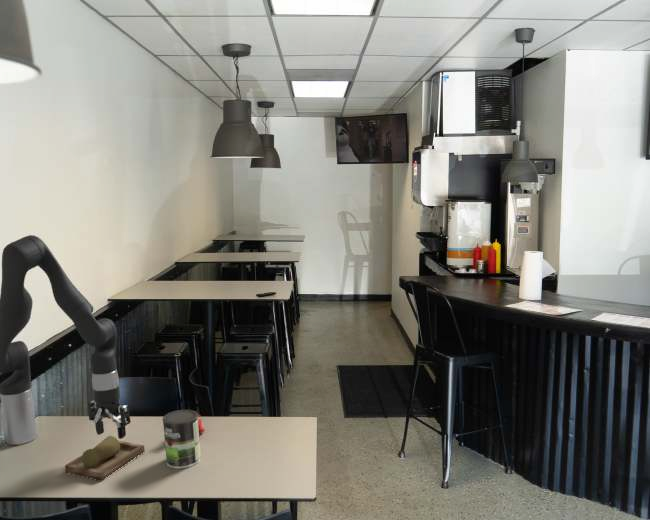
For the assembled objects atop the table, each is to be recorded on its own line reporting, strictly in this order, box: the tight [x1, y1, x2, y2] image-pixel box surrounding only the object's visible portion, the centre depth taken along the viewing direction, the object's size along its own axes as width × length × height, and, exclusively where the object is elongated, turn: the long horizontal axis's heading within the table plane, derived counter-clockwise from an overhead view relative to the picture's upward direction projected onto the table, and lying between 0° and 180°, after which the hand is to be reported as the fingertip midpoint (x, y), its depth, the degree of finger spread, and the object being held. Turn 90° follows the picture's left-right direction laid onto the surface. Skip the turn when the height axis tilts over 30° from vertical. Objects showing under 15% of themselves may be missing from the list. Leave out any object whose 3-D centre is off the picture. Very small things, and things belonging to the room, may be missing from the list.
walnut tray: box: [64, 440, 145, 482], centre depth 178 cm, size 14×18×2 cm
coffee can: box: [161, 409, 202, 470], centre depth 177 cm, size 10×10×14 cm
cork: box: [81, 435, 120, 467], centre depth 176 cm, size 6×6×11 cm
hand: (111, 435), depth 180 cm, fingers open, 8 cm apart
